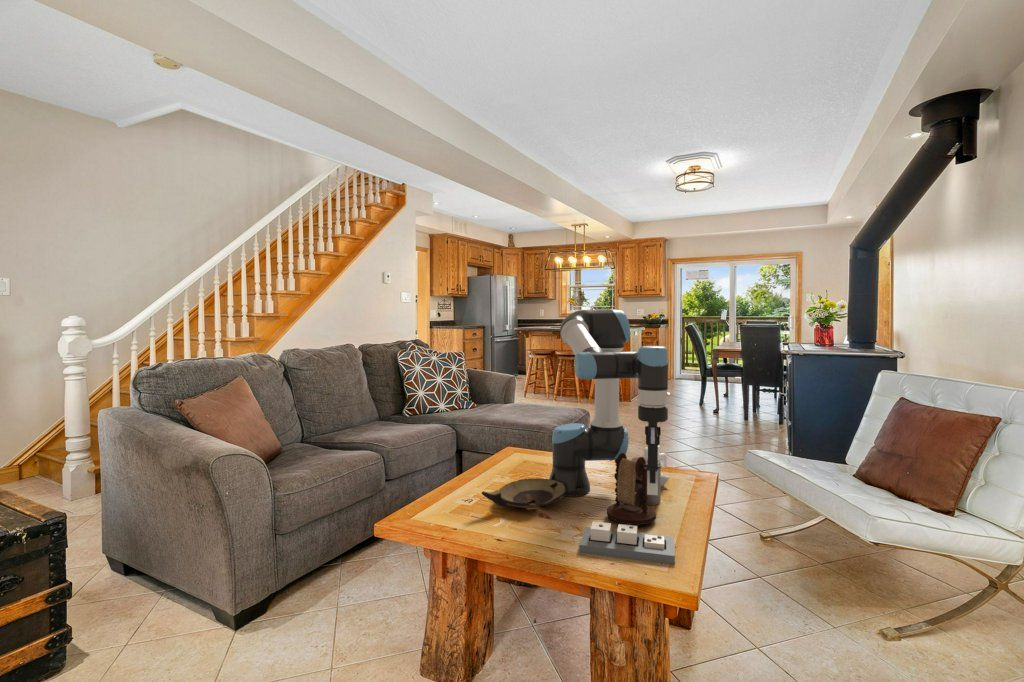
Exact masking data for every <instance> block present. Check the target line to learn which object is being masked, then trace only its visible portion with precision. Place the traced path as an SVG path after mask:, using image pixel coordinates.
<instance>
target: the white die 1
mask: <svg viewBox="0 0 1024 682" xmlns="http://www.w3.org/2000/svg"><path fill="white" fill-rule="evenodd" d="M591 523H592V524H591V526H590V527H591V541H597V542H606V543H609V542H610V543H611V541H610V537H611V530H612V523H610V522H602V521H592V522H591Z"/></svg>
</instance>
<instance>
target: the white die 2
mask: <svg viewBox="0 0 1024 682" xmlns="http://www.w3.org/2000/svg"><path fill="white" fill-rule="evenodd" d="M616 530H617V543H616V544H624V545H626V544H627V545H633V546H636V545H637V546H638V544H637V532H638V528H637V526H634V525H633V524H623V523H621V524H620V523H619V524H618V526H617V529H616Z"/></svg>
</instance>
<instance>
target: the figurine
mask: <svg viewBox="0 0 1024 682" xmlns="http://www.w3.org/2000/svg"><path fill="white" fill-rule="evenodd" d="M660 448H661V446H660V445H659V446H658V460H660V461H661V467H662V468H665V469H666V468H667V465H668V464H667V462H668V460H667V459H668V458H667V457H668V456H667V454H666V453H665V452H661V453H660V450H661V449H660ZM645 456H646V457H648V446H647V447H644V448H643V457H645ZM660 477H661V487H665V485H666V484H667V482H668V481H669V479H670V475H669V476H668V475H666V474H664V473H662V472H661V476H660Z"/></svg>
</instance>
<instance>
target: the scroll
mask: <svg viewBox="0 0 1024 682" xmlns="http://www.w3.org/2000/svg"><path fill="white" fill-rule="evenodd" d="M626 454H627V453H626ZM626 454H625V453H620V454H619V456H618V457H617V458H616V459H615V460H614V463H615V470H614V471H615V473H614V474H613V477H614V480H615V481H616V482H615V488H614V492H615V498H614V502H615V503H613V504H610V505H609V506H607V508H606V515H607V519H608V520H609V521H610V520H613V521H614V522H618V523H621V524H624V525H633V526H637V529H638V527H639V525H645V524H646V525H647V524H650V523H652V522H654V521H655V520H657V519H656V518H657V511H656V510H654V509H653V508H652V507H650V505H647V504H646V503H648V502H647V500H648V496H647V495H646V494H647V470H645V467H648V466H647V464H646V462H645V459H644V458H643V457H644V456H638V457H639V458H638V460H637V461H633V460H632V459H628V457H627V455H626ZM642 474H643V476H642ZM641 476H642V478H643V480H640V479H636V477H637V478H640V477H641ZM635 482H636V483H638V484H641V485H642V487H640V488H639V489H638V491H637V493H636V492H635Z"/></svg>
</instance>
